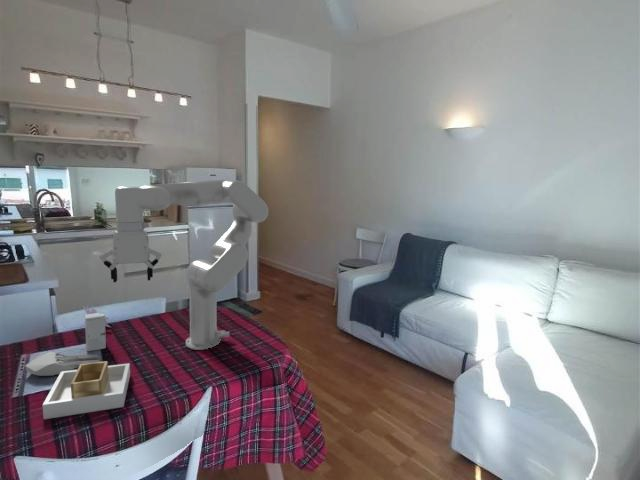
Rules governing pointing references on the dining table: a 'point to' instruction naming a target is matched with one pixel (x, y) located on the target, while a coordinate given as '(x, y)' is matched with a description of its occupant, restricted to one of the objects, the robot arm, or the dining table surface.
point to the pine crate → (90, 380)
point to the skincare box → (95, 331)
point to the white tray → (64, 405)
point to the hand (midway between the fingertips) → (132, 280)
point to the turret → (57, 363)
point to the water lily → (96, 312)
